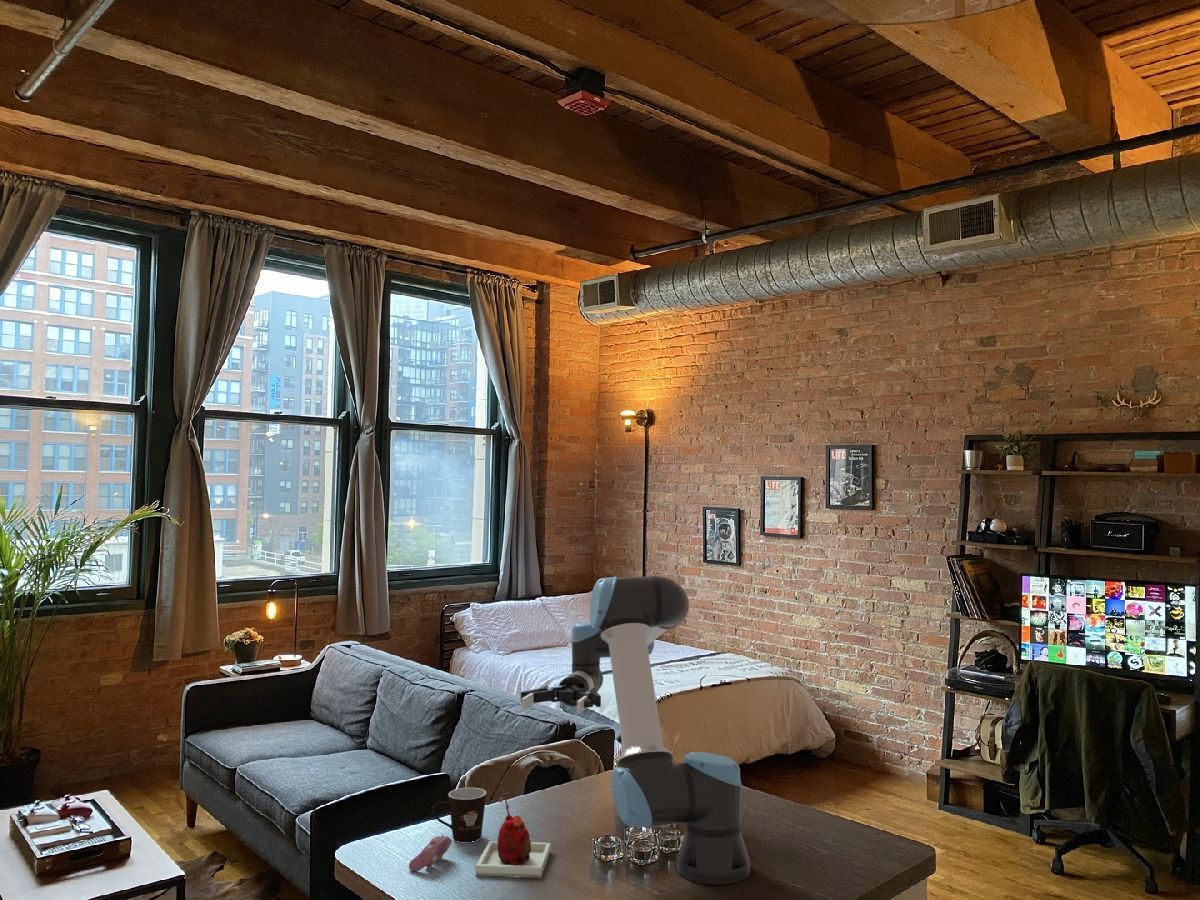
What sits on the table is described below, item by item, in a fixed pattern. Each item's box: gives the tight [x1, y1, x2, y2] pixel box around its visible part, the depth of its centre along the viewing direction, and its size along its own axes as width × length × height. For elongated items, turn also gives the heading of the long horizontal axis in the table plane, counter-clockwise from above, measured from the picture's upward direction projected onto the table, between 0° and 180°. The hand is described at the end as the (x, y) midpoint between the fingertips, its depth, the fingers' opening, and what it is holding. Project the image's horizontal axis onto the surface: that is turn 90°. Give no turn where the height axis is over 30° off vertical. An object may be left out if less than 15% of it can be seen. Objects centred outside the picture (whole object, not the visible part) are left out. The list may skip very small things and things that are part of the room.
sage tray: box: [475, 840, 552, 878], centre depth 190 cm, size 14×14×2 cm
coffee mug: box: [431, 787, 487, 843], centre depth 205 cm, size 12×9×10 cm
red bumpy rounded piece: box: [497, 788, 532, 865], centre depth 191 cm, size 8×7×15 cm
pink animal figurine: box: [408, 833, 453, 872], centre depth 190 cm, size 10×5×7 cm, turn 161°
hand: (550, 705), depth 210 cm, fingers open, 13 cm apart
